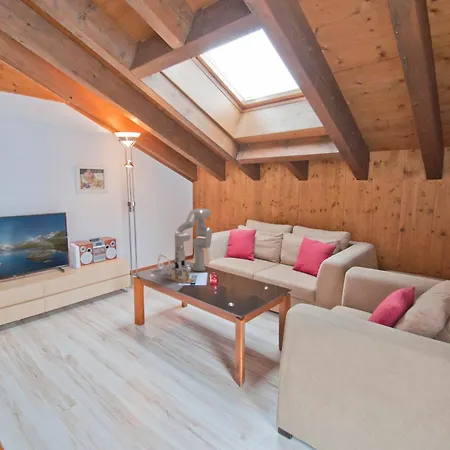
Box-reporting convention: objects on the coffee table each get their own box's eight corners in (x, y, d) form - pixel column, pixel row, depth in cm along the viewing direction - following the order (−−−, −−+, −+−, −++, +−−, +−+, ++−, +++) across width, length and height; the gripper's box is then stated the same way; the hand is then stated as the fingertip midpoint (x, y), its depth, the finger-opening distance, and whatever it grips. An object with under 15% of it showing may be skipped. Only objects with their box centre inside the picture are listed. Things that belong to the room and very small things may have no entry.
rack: (172, 276, 300) (171, 264, 298) (195, 280, 290) (194, 267, 288) (165, 280, 291) (165, 267, 289) (189, 283, 281) (188, 270, 279)
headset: (173, 274, 308) (172, 255, 305) (166, 275, 303) (166, 257, 300) (162, 269, 323) (161, 252, 320) (155, 271, 318) (155, 253, 315)
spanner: (167, 269, 291) (167, 266, 291) (171, 267, 296) (171, 264, 296) (189, 272, 282) (188, 268, 282) (192, 270, 287) (192, 267, 287)
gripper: (177, 250, 277) (178, 270, 279) (188, 246, 292) (188, 264, 295) (170, 249, 280) (170, 269, 282) (181, 245, 295) (181, 264, 298)
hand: (180, 267), depth 289 cm, fingers open, 9 cm apart
